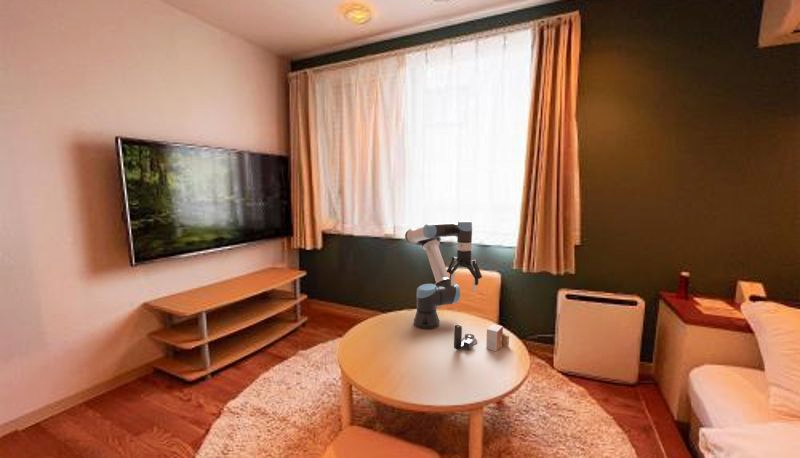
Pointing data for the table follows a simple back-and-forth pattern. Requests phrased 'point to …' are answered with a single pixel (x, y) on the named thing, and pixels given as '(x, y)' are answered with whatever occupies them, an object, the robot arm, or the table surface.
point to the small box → (494, 337)
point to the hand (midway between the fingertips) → (463, 287)
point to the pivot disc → (474, 340)
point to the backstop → (505, 340)
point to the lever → (458, 342)
